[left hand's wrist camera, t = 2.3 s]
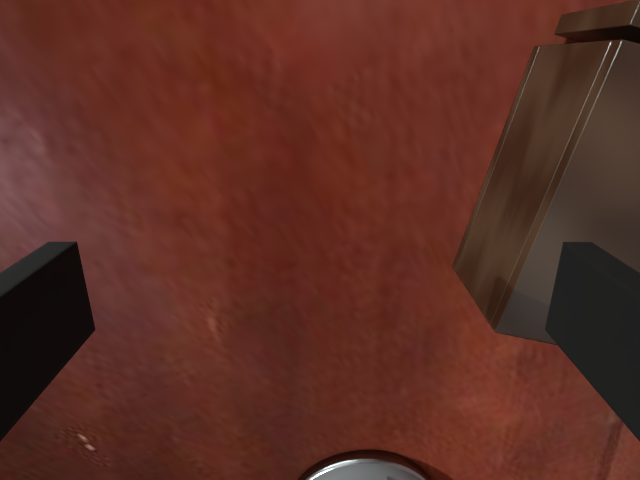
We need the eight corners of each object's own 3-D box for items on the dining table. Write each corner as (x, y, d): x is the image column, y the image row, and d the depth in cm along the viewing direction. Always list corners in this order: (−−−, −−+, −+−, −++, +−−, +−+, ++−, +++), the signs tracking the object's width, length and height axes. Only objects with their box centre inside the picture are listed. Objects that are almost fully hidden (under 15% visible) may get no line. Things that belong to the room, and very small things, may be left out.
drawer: (598, -83, 27) (699, -136, 20) (740, -42, 27) (887, -78, 20) (476, 236, 34) (517, 282, 27) (590, 262, 35) (659, 313, 28)
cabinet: (533, 45, 30) (622, 38, 21) (677, 83, 31) (820, 91, 22) (451, 266, 36) (494, 332, 27) (574, 293, 37) (654, 365, 28)
